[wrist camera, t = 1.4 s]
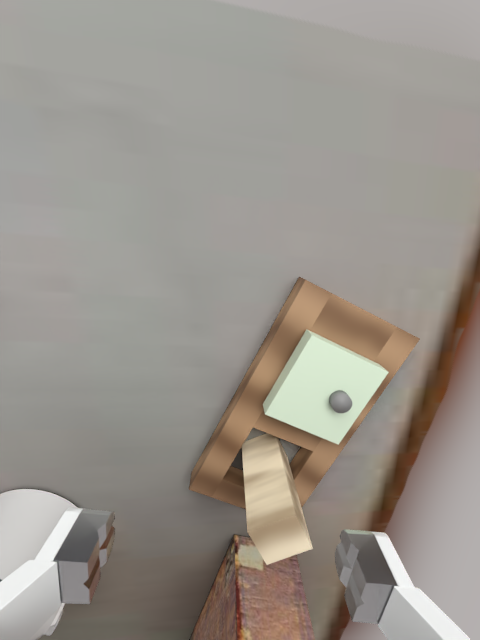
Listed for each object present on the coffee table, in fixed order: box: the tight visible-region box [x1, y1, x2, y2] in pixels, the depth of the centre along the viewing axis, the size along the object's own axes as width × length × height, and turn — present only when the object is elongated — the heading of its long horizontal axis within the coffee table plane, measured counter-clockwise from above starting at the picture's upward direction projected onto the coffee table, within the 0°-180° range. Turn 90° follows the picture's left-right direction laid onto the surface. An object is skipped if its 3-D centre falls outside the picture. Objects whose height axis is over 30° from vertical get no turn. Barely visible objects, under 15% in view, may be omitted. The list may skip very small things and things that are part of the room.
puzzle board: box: [189, 277, 419, 509], centre depth 32 cm, size 28×14×2 cm, turn 153°
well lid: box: [263, 329, 389, 445], centre depth 28 cm, size 10×9×3 cm
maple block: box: [242, 433, 313, 565], centre depth 30 cm, size 4×4×11 cm
